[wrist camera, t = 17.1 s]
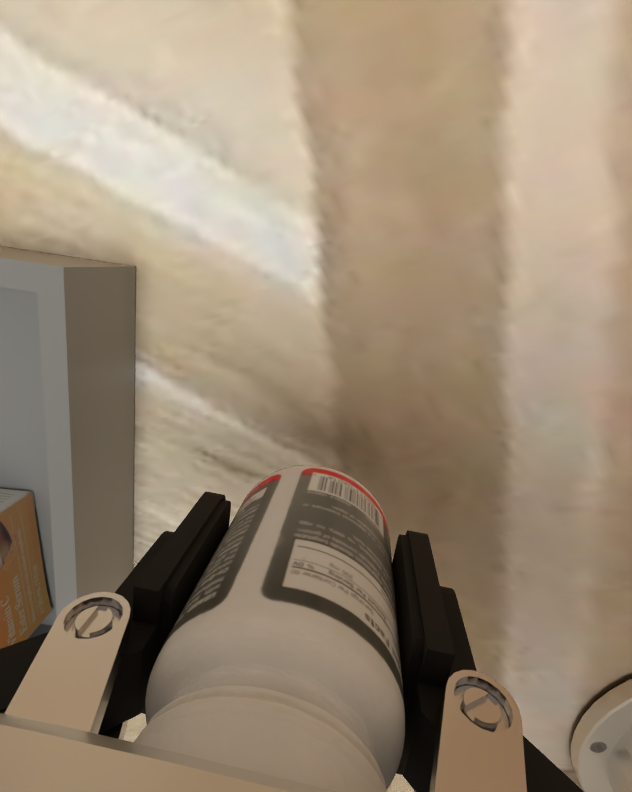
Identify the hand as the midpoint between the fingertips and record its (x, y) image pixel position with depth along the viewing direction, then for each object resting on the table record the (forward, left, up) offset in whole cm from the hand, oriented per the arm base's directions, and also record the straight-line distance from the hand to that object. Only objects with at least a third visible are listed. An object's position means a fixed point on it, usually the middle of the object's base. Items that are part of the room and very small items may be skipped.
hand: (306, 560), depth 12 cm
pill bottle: (0, 0, -2) cm, 2 cm away
